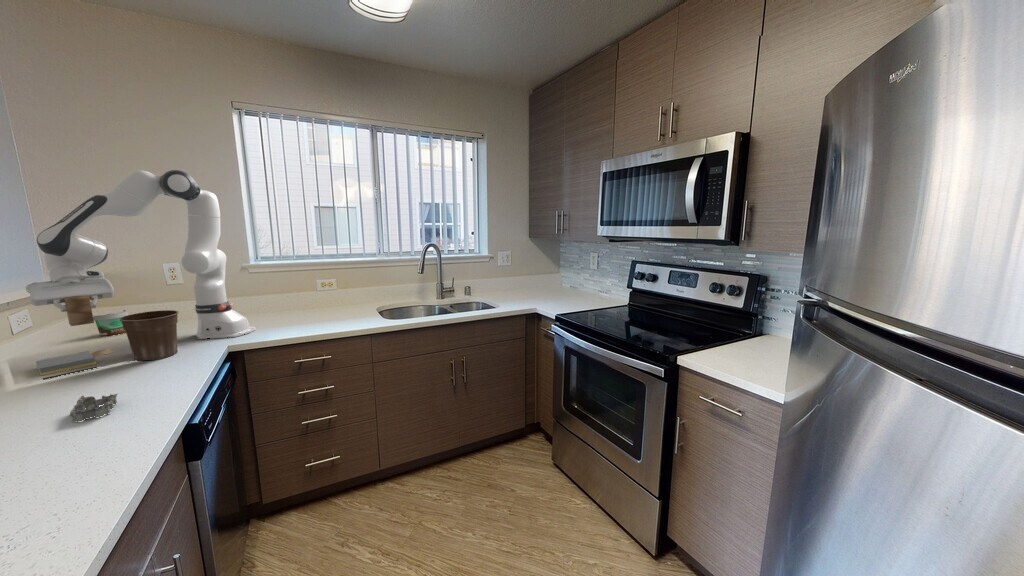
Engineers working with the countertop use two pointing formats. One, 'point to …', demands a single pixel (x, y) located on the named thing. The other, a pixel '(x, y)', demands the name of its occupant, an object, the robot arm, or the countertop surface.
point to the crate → (79, 310)
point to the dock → (65, 363)
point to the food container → (110, 324)
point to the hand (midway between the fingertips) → (79, 309)
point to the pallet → (101, 352)
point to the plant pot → (152, 334)
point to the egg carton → (92, 407)
